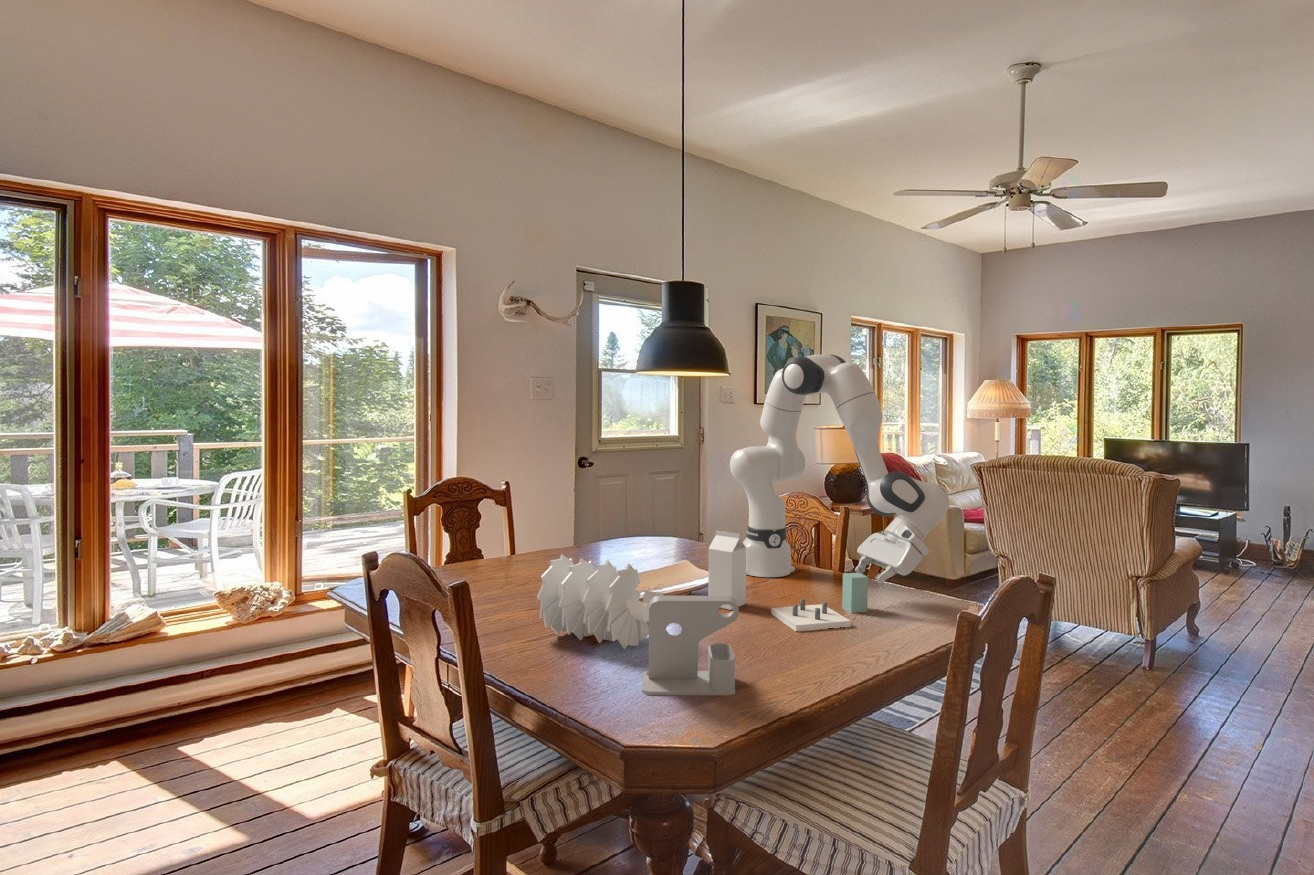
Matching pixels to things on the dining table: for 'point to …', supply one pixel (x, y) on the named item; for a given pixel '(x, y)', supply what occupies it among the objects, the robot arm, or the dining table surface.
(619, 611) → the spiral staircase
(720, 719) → the dining table surface
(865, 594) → the block
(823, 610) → the peg board
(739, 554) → the milk carton
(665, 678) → the grey mounting bracket
